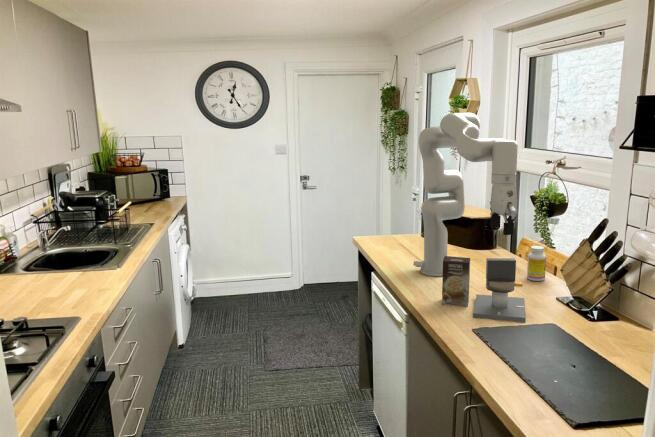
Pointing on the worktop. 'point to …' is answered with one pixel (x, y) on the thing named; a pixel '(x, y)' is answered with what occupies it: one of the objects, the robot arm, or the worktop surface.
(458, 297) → the coffee box
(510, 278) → the rotary knob
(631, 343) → the worktop surface
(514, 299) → the post base
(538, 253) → the supplement bottle
